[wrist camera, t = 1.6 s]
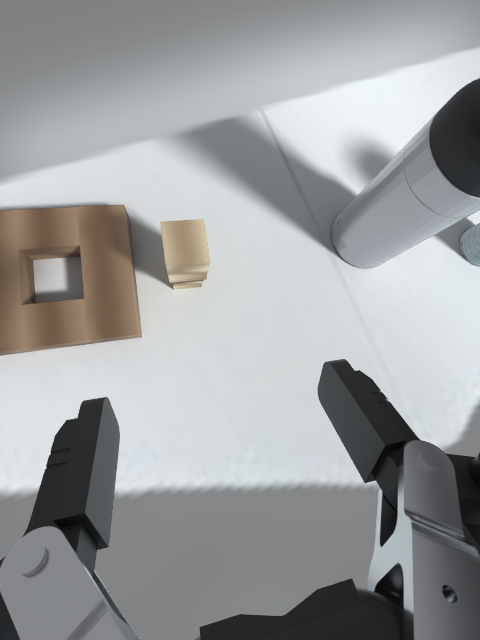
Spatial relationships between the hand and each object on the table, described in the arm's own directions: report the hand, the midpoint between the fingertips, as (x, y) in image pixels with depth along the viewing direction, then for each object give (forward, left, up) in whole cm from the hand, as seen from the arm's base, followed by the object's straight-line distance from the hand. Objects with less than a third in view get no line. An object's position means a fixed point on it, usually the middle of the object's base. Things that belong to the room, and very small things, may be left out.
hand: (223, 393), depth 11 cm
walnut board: (+14, -13, -25) cm, 31 cm away
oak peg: (0, -13, -25) cm, 28 cm away
